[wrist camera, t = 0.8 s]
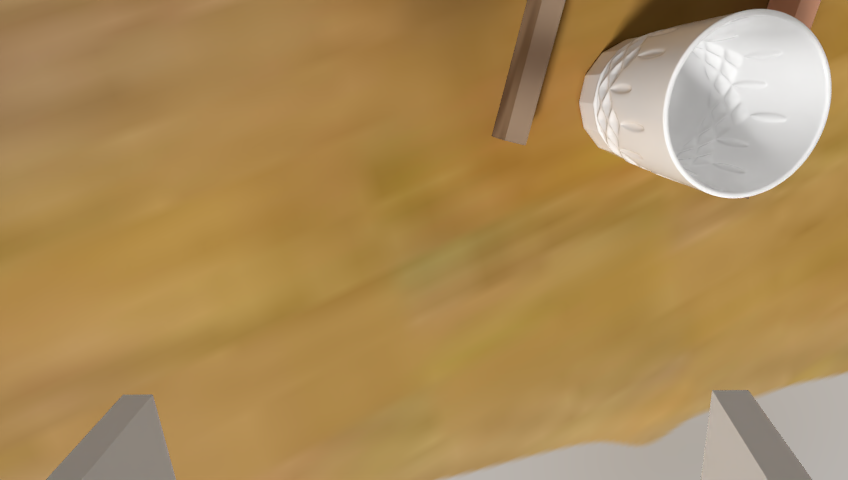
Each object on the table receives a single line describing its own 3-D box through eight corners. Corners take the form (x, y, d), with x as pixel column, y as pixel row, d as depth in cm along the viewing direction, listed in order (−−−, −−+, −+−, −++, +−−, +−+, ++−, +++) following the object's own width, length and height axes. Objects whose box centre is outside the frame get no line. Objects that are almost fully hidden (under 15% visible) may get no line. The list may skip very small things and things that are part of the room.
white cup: (717, 105, 36) (861, 115, 26) (617, 193, 36) (724, 234, 27) (648, -3, 33) (778, -35, 24) (542, 92, 34) (628, 98, 24)
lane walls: (721, 191, 37) (748, 198, 35) (491, 136, 34) (504, 140, 32) (766, 61, 36) (798, 60, 33) (530, -10, 32) (546, -17, 30)
